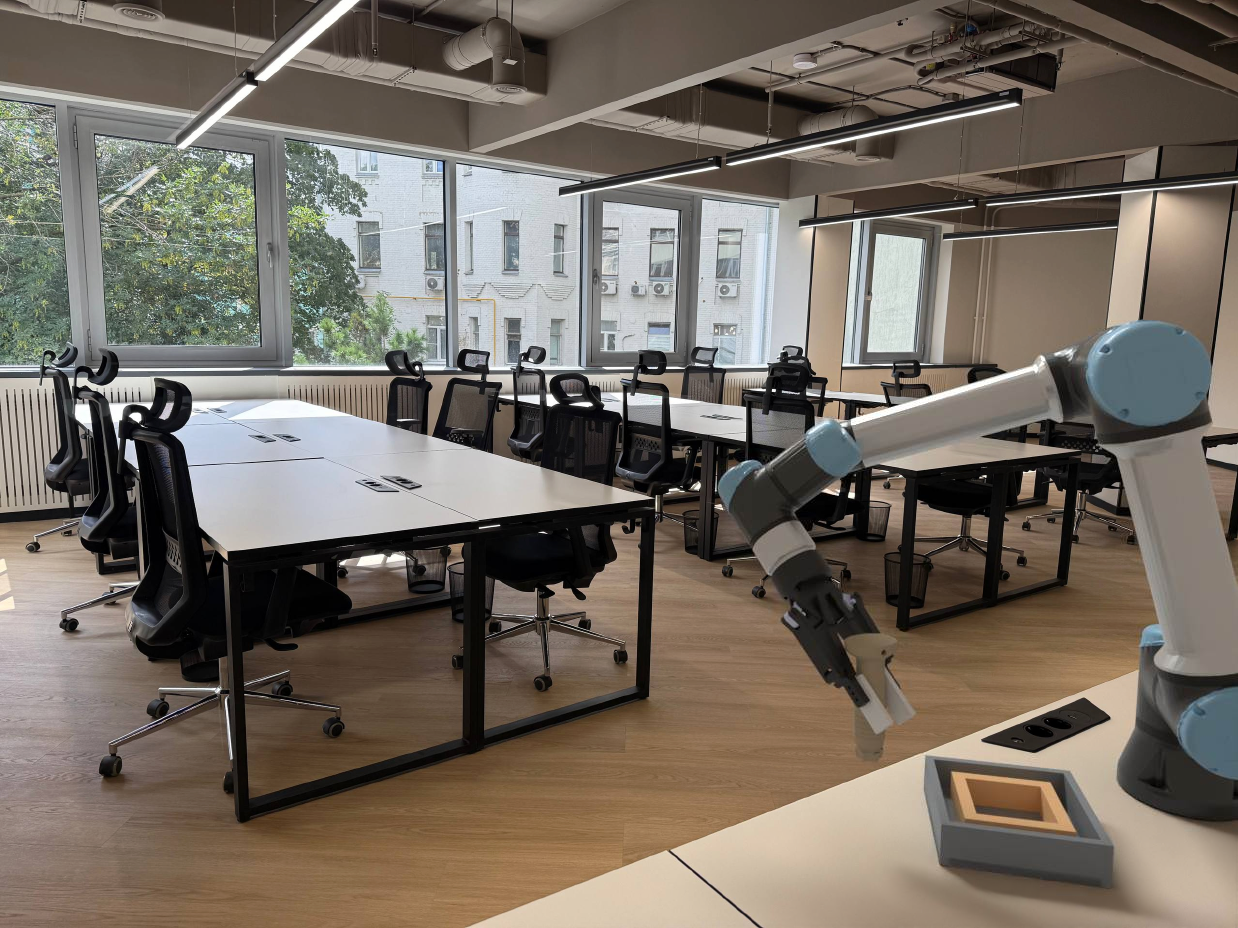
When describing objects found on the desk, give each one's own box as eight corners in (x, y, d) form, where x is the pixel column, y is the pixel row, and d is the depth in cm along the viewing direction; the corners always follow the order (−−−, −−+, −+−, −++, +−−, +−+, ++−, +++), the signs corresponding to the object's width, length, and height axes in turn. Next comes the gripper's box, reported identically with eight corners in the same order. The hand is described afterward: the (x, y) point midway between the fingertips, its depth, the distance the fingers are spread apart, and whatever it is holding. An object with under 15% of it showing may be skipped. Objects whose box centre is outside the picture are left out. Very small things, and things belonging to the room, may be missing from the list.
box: (1067, 806, 110) (1069, 770, 110) (1110, 888, 93) (1114, 845, 92) (923, 789, 115) (925, 754, 114) (939, 864, 97) (941, 824, 97)
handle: (902, 760, 102) (905, 642, 100) (859, 770, 100) (862, 649, 98) (876, 744, 107) (879, 631, 105) (835, 754, 104) (836, 637, 103)
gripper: (819, 569, 118) (918, 720, 107) (733, 588, 109) (832, 756, 97) (850, 538, 113) (957, 693, 102) (763, 555, 104) (870, 728, 92)
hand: (896, 723), depth 99 cm, fingers closed on handle, 3 cm apart
